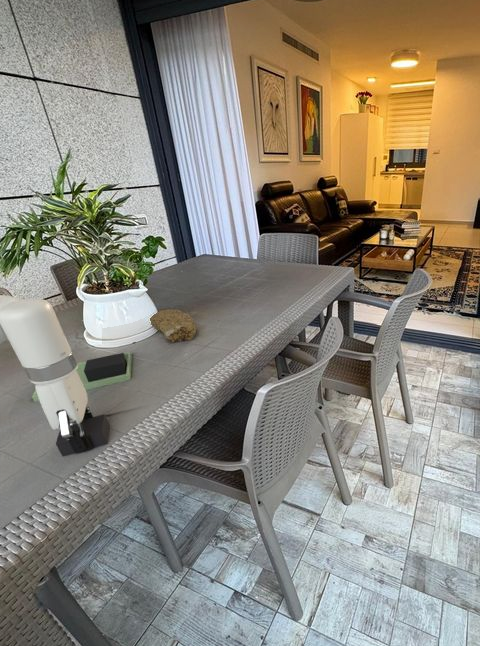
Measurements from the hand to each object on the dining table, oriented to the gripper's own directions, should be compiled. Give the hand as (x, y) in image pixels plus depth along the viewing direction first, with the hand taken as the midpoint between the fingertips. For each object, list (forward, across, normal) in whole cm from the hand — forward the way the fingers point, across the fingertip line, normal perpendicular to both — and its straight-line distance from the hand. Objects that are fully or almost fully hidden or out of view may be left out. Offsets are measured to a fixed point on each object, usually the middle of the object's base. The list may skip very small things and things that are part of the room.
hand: (86, 438), depth 73 cm
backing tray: (+1, -27, -3) cm, 27 cm away
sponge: (+1, -46, +20) cm, 50 cm away
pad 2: (0, -27, +2) cm, 27 cm away
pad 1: (+1, 0, 0) cm, 1 cm away
